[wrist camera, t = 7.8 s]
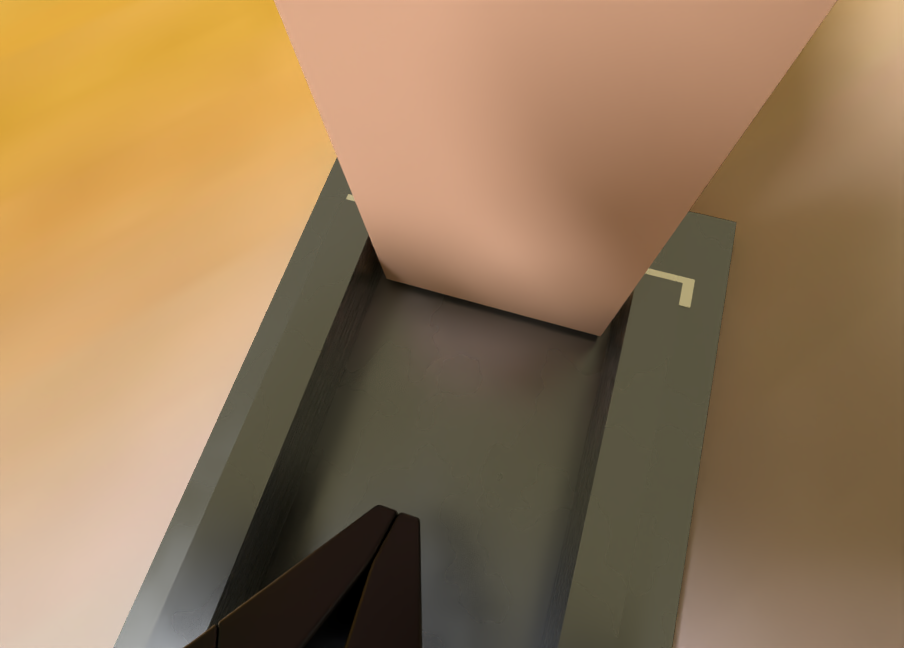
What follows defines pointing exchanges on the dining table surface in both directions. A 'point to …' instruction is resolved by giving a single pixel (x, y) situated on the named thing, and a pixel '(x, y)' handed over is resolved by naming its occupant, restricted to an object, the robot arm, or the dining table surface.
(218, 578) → the grey railed base plate
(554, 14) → the block
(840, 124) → the dining table surface
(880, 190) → the dining table surface
